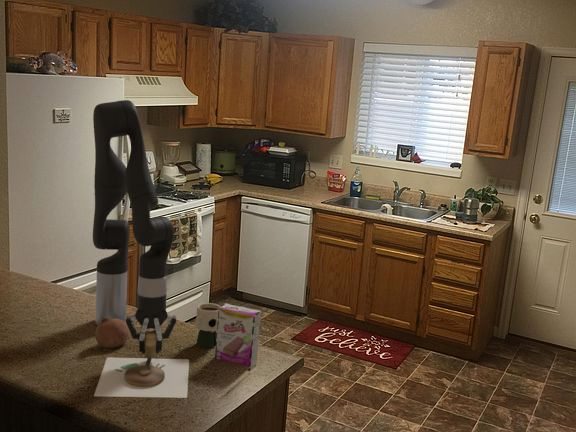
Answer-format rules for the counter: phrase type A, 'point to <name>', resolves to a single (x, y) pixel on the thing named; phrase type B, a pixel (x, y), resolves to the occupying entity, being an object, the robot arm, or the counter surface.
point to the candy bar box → (237, 334)
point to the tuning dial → (146, 373)
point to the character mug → (207, 324)
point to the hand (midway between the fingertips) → (150, 352)
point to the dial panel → (116, 386)
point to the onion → (111, 333)
